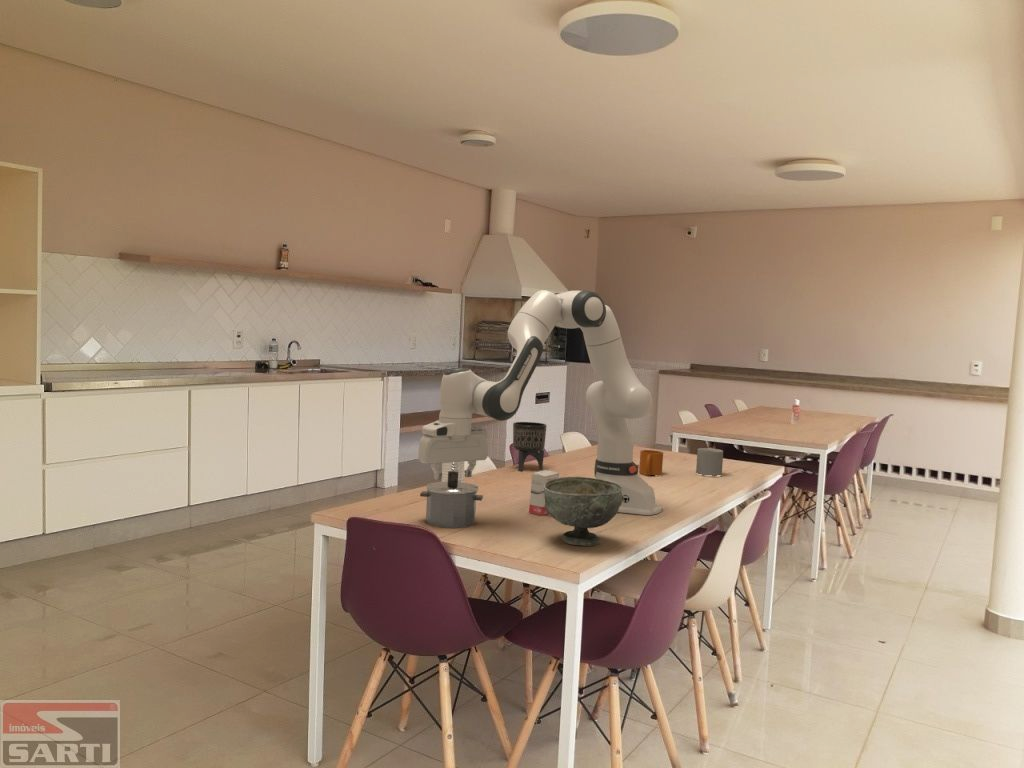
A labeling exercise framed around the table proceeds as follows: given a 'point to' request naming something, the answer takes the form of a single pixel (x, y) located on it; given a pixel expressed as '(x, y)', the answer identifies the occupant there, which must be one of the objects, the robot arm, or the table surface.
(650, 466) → the mug
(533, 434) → the planter
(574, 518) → the bowl
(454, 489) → the lid
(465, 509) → the pot
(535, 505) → the ink box
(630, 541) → the table surface
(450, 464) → the water bottle
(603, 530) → the table surface
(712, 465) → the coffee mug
